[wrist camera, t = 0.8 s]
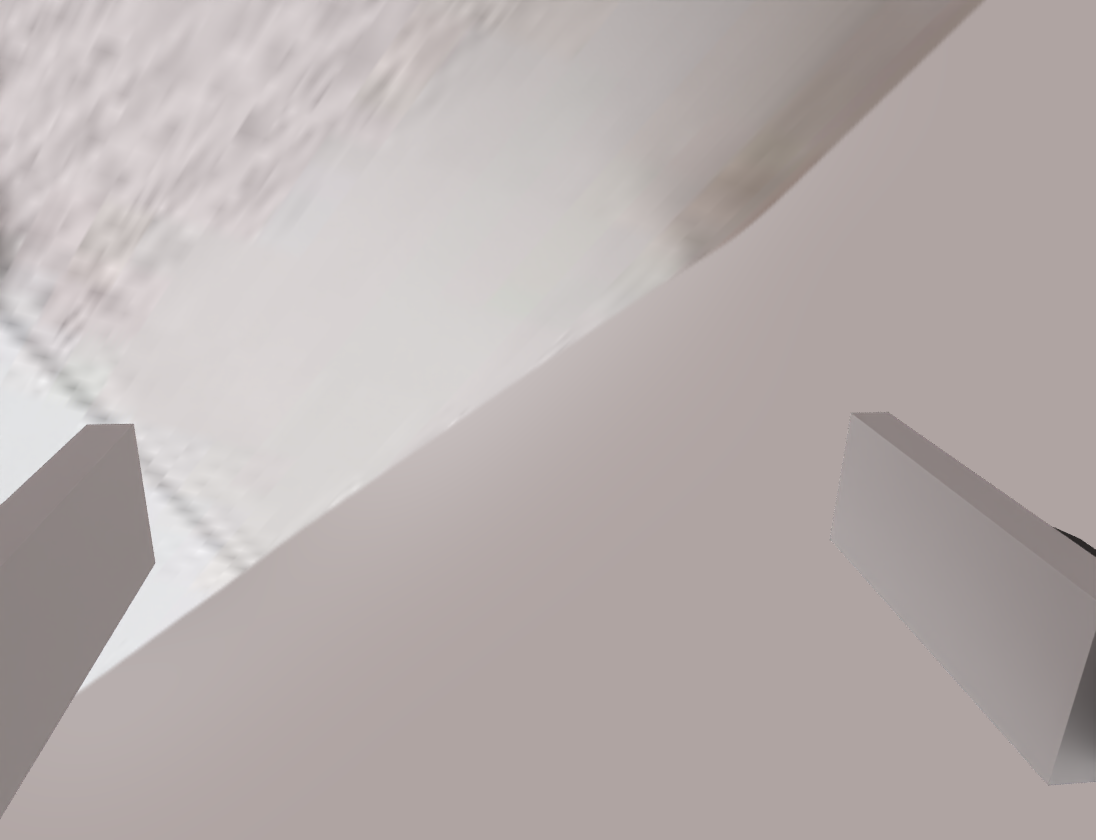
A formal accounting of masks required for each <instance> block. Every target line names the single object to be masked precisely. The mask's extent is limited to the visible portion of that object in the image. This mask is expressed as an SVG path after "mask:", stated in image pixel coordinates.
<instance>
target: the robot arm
mask: <svg viewBox="0 0 1096 840" xmlns="http://www.w3.org/2000/svg"><path fill="white" fill-rule="evenodd" d="M830 540H831V541H832V542H833V544H835V546H836V547H837V548H838V549H839V550H840V551H841V553H842V554H843V555H844V556H845V557H846V558H847V559H848V560H849V561H850V563H851V564H852V565H853V566H854V567H855V568H856V569H857V571H858V572H859V573H860V574H861V575H862V576H863V577H864V578H865V580H866V581H867V582H868V583H869V584H870V585H871V586H872V587H873V589H874V590H875V591H876V592H877V593H878V594H879V595H880V597H881V598H882V599H883V600H884V601H885V602H886V603H887V604H888V605H889V607H890V608H891V609H892V610H893V611H894V612H895V613H896V615H897V616H898V617H899V618H900V619H901V620H902V621H903V622H904V624H905V625H907V627H908V628H909V629H910V630H911V631H912V633H913V634H914V635H915V636H916V637H917V638H918V639H919V640H920V642H921V643H922V644H923V645H924V646H925V647H926V648H927V650H929V652H930V653H931V654H932V655H933V656H934V657H935V659H936V660H937V661H938V662H939V663H940V664H941V665H942V666H943V668H944V669H945V670H946V671H947V672H948V673H949V674H950V675H951V676H952V678H953V679H954V680H955V681H956V682H957V683H958V684H959V686H960V687H961V688H962V689H963V690H964V691H965V692H966V694H967V695H968V696H969V697H970V698H971V699H972V700H973V701H974V703H976V705H977V706H978V707H979V708H980V709H981V710H982V712H983V713H984V714H985V715H986V716H987V717H988V718H989V719H990V721H991V722H992V723H993V724H994V725H995V726H996V727H997V728H998V729H999V731H1000V732H1001V733H1002V734H1003V735H1004V736H1005V737H1006V739H1007V740H1008V741H1009V742H1010V743H1011V744H1012V745H1013V746H1014V748H1015V749H1016V750H1017V751H1018V752H1019V753H1020V754H1021V756H1022V757H1023V758H1024V759H1025V760H1026V761H1027V762H1028V763H1029V765H1030V766H1031V767H1032V768H1033V769H1034V770H1035V771H1036V772H1037V773H1038V775H1039V776H1040V777H1041V778H1042V779H1043V780H1044V781H1045V783H1046V784H1047V785H1061V784H1072V783H1087V782H1096V549H1094V548H1093V547H1091V546H1090V545H1088V544H1087V543H1085V542H1084V541H1082V540H1081V539H1079V538H1077V537H1075V536H1072V535H1070V534H1068V533H1066V532H1063V531H1061V530H1059V529H1057V528H1054V527H1052V526H1050V525H1049V524H1048V523H1046V522H1045V521H1043V520H1042V519H1040V518H1039V517H1037V516H1036V515H1035V514H1033V513H1032V512H1030V511H1029V510H1027V509H1026V508H1024V507H1023V506H1022V505H1020V504H1019V503H1018V502H1016V501H1015V500H1013V499H1012V498H1010V497H1009V496H1008V495H1006V494H1005V493H1003V492H1002V491H1000V490H999V489H997V488H996V487H995V486H993V485H992V484H990V483H989V482H987V481H986V480H985V479H983V478H982V477H980V476H979V475H977V474H976V473H975V472H973V471H972V470H970V469H969V468H967V467H966V466H965V465H963V464H961V463H960V462H959V461H957V460H956V459H955V458H953V457H952V456H950V455H949V454H947V453H946V452H945V451H943V450H942V449H940V448H939V447H937V446H936V445H935V444H933V443H932V442H930V441H929V440H927V439H926V438H925V437H923V436H922V435H920V434H919V433H917V432H916V431H915V430H913V429H912V428H910V427H909V426H907V425H906V424H904V423H903V422H902V421H900V420H899V419H897V418H896V417H895V416H893V415H892V414H890V413H889V412H873V413H851V416H850V422H849V428H848V434H847V440H846V446H845V452H844V458H843V464H842V470H841V476H840V482H839V488H838V494H837V500H836V506H835V512H834V517H833V523H832V529H831V535H830ZM154 564H155V558H154V552H153V545H152V539H151V532H150V526H149V519H148V513H147V506H146V500H145V494H144V487H143V481H142V474H141V468H140V461H139V455H138V448H137V442H136V436H135V429H134V424H95V425H86V426H85V427H84V428H83V429H82V430H81V431H80V432H78V433H77V434H76V435H75V436H74V437H73V438H72V439H71V440H70V441H69V442H68V443H67V444H66V445H65V446H63V447H62V448H61V449H60V450H59V451H58V452H57V453H56V454H55V455H54V456H53V457H52V458H51V459H50V460H48V461H47V462H46V463H45V464H44V465H43V466H42V467H41V468H40V469H39V470H38V471H37V472H36V473H35V474H33V475H32V476H31V477H30V478H29V479H28V480H27V481H26V482H25V483H24V484H23V485H22V486H21V487H20V488H18V489H17V490H16V491H15V492H14V493H13V494H12V495H11V496H10V497H9V498H8V499H7V500H6V501H5V502H3V503H2V504H1V505H0V818H1V816H2V815H3V813H4V812H5V810H6V809H7V807H8V805H9V804H10V802H11V800H12V798H13V797H14V795H15V794H16V792H17V790H18V789H19V787H20V785H21V784H22V782H23V780H24V779H25V777H26V775H27V774H28V772H29V771H30V769H31V767H32V766H33V764H34V762H35V760H36V759H37V757H38V756H39V754H40V752H41V751H42V749H43V747H44V746H45V744H46V742H47V741H48V739H49V737H50V736H51V734H52V733H53V731H54V729H55V727H56V726H57V724H58V723H59V721H60V719H61V718H62V716H63V714H64V713H65V711H66V709H67V708H68V706H69V704H70V703H71V701H72V700H73V698H74V696H75V695H76V693H77V691H78V690H79V688H80V686H81V685H82V683H83V681H84V680H85V678H86V676H87V675H88V673H89V672H90V670H91V668H92V667H93V665H94V663H95V662H96V660H97V658H98V657H99V655H100V653H101V652H102V650H103V648H104V647H105V645H106V643H107V642H108V640H109V639H110V637H111V635H112V634H113V632H114V630H115V629H116V627H117V625H118V624H119V622H120V620H121V619H122V617H123V615H124V614H125V612H126V610H127V609H128V607H129V605H130V604H131V602H132V601H133V599H134V597H135V596H136V594H137V592H138V591H139V589H140V587H141V586H142V584H143V582H144V581H145V579H146V577H147V576H148V574H149V572H150V571H151V569H152V568H153V566H154Z"/></svg>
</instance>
